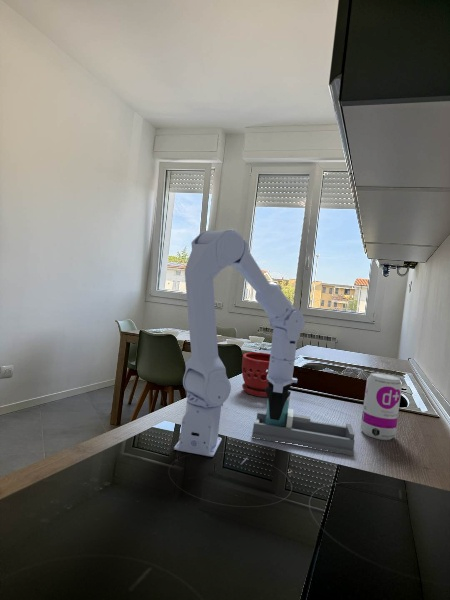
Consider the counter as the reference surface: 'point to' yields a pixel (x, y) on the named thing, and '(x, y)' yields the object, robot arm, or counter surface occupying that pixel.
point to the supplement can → (381, 406)
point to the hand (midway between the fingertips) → (275, 415)
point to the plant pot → (255, 373)
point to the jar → (283, 418)
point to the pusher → (296, 418)
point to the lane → (308, 435)
